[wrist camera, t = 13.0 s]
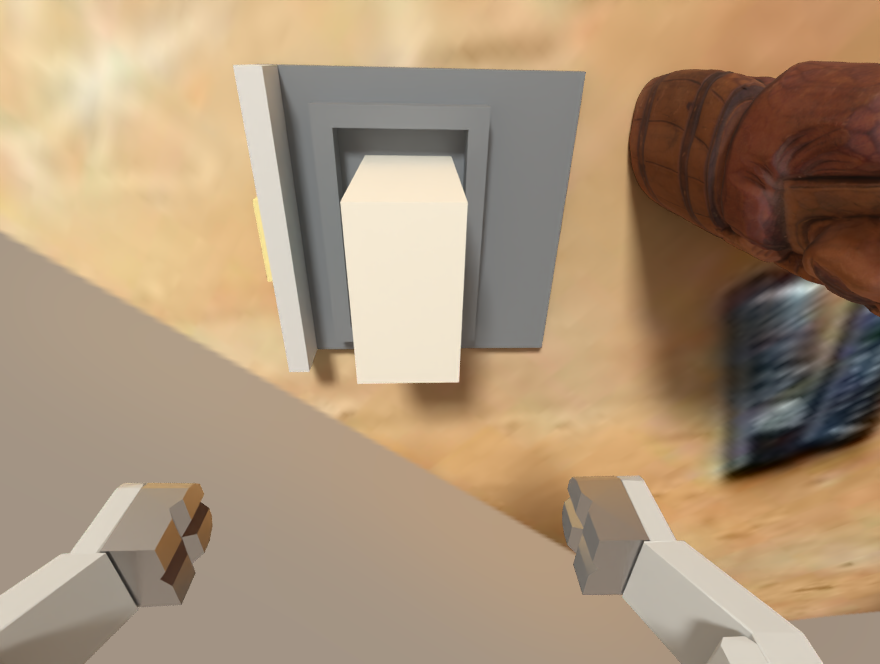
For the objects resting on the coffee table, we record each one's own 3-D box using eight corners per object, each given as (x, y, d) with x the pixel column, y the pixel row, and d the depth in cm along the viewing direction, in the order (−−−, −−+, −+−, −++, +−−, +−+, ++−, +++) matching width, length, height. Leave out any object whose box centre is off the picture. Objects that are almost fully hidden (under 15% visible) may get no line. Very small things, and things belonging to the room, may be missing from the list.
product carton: (451, 155, 24) (467, 202, 16) (447, 293, 28) (459, 382, 20) (361, 155, 24) (334, 201, 16) (370, 293, 28) (352, 383, 20)
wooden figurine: (587, 171, 26) (844, 341, 10) (654, 47, 23) (1157, 26, 7) (749, 244, 28) (1143, 465, 13) (828, 141, 25) (1462, 270, 10)
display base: (579, 71, 23) (603, 73, 20) (538, 339, 31) (551, 369, 28) (249, 64, 22) (223, 64, 19) (295, 341, 31) (282, 372, 28)
